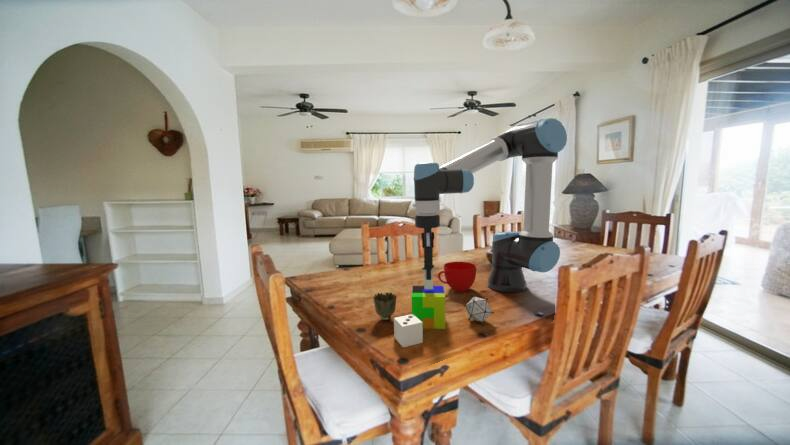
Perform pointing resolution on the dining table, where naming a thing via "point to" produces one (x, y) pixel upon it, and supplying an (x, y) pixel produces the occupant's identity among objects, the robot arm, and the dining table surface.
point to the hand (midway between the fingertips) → (428, 288)
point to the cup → (385, 305)
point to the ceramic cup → (459, 275)
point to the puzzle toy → (429, 306)
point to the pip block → (408, 330)
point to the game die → (478, 309)
